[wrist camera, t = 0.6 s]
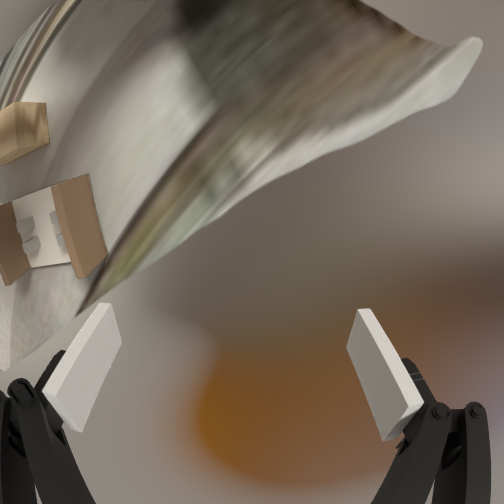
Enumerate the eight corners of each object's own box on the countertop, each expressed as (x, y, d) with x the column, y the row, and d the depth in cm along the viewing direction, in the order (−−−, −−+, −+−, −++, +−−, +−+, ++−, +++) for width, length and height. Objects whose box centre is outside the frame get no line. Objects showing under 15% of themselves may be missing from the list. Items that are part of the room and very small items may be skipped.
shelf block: (3, 128, 30) (-27, 132, 23) (45, 103, 30) (14, 101, 22) (7, 163, 33) (-23, 172, 25) (49, 142, 32) (17, 147, 25)
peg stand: (10, 201, 35) (-18, 214, 28) (88, 173, 35) (58, 183, 27) (29, 266, 40) (5, 285, 33) (108, 254, 40) (85, 278, 33)
